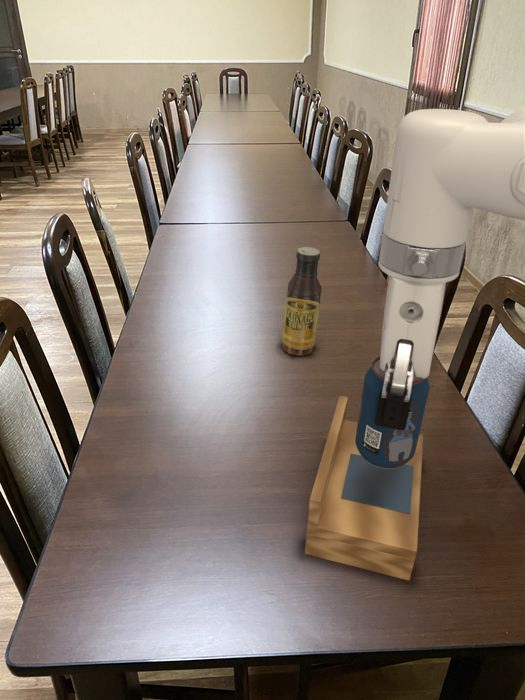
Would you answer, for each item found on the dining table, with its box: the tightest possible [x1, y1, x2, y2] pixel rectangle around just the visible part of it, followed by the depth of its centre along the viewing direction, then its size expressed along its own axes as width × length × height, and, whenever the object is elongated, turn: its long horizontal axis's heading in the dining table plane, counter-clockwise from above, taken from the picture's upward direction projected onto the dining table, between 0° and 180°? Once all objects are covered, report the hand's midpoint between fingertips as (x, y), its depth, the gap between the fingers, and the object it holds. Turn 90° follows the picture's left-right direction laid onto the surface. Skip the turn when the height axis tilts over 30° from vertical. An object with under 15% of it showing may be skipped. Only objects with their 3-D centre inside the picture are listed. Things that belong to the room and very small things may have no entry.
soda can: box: [355, 355, 431, 469], centre depth 60 cm, size 7×7×12 cm
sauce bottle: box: [281, 246, 323, 357], centre depth 97 cm, size 7×6×20 cm
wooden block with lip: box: [304, 395, 424, 581], centre depth 67 cm, size 12×20×9 cm, turn 164°
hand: (392, 404), depth 60 cm, fingers closed on soda can, 7 cm apart
